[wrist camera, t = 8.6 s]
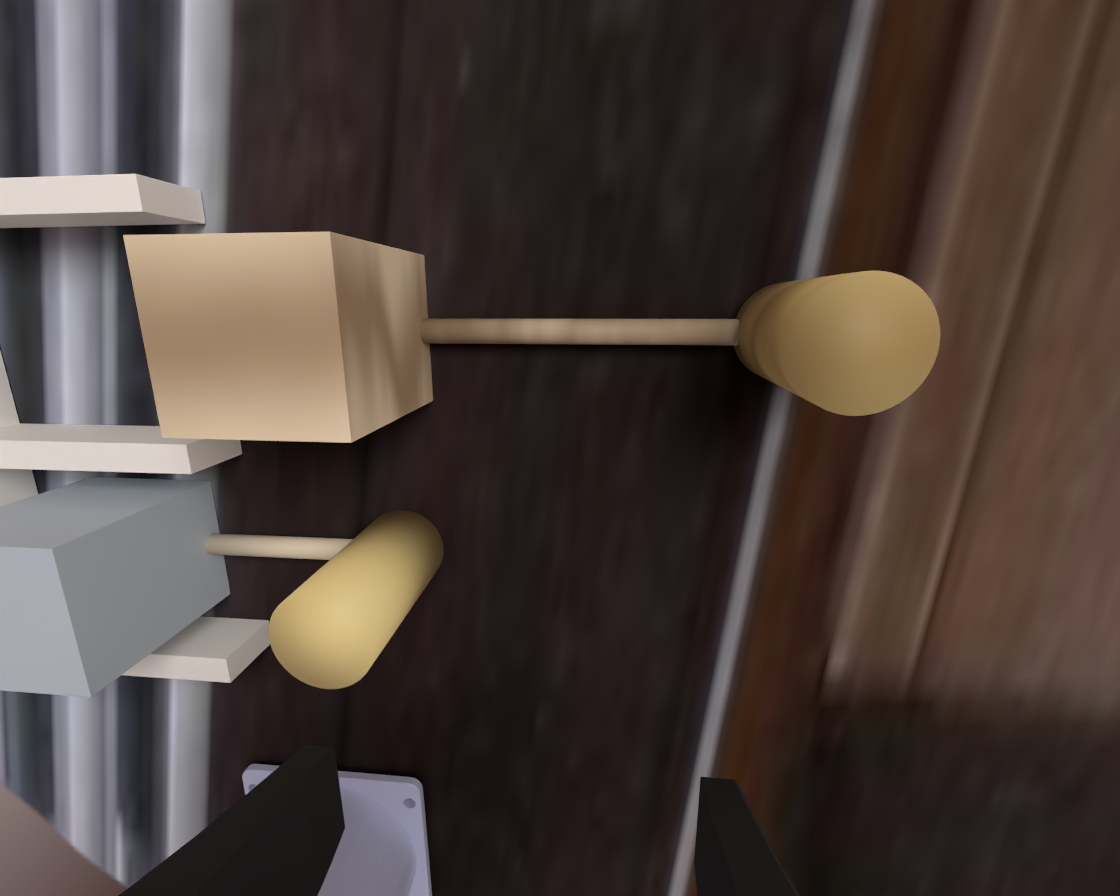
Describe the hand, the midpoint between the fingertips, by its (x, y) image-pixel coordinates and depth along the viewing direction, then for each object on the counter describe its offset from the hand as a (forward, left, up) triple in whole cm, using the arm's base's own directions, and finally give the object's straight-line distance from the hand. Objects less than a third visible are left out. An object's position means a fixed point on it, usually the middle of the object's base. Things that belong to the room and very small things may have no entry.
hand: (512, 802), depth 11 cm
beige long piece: (+8, +1, -10) cm, 13 cm away
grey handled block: (+1, +12, -10) cm, 15 cm away
